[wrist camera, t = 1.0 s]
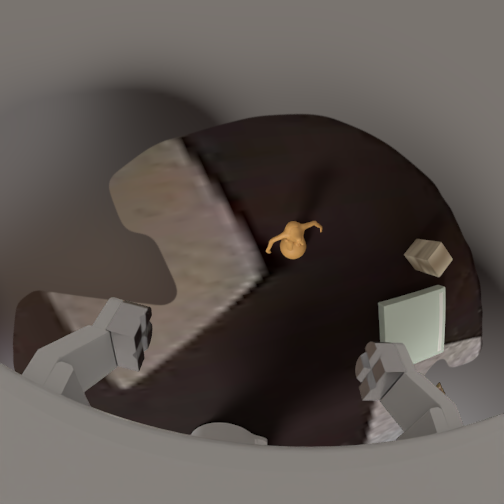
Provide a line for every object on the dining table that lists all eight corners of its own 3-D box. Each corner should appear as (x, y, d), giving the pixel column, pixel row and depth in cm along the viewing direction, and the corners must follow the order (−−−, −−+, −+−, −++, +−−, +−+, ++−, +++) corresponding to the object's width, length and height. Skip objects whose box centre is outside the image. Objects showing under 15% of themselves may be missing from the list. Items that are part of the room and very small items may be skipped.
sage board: (437, 347, 48) (443, 352, 45) (380, 368, 48) (385, 374, 46) (438, 284, 47) (445, 287, 44) (377, 302, 47) (384, 306, 44)
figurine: (272, 266, 46) (279, 281, 34) (257, 231, 46) (259, 235, 34) (319, 246, 46) (341, 254, 34) (305, 211, 45) (323, 208, 33)
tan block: (427, 253, 46) (452, 259, 38) (415, 269, 46) (439, 277, 38) (416, 238, 46) (441, 242, 38) (403, 254, 46) (427, 260, 38)
